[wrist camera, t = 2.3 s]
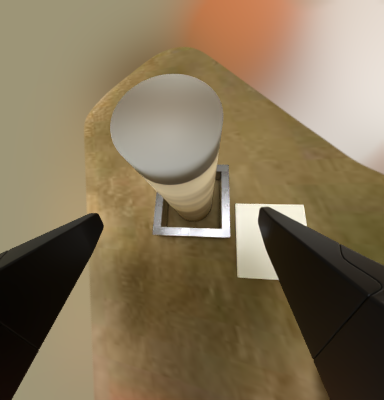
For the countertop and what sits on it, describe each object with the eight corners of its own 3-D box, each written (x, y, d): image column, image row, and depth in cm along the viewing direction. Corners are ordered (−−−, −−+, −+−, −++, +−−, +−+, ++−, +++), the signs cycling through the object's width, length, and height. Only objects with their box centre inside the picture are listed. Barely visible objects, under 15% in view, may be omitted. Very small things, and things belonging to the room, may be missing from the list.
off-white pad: (312, 281, 16) (314, 282, 16) (237, 276, 17) (237, 277, 17) (301, 205, 18) (303, 205, 18) (234, 204, 19) (235, 203, 19)
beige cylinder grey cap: (211, 222, 19) (224, 169, 5) (175, 220, 19) (100, 170, 6) (211, 187, 20) (222, 70, 6) (177, 186, 20) (119, 77, 7)
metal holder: (227, 238, 18) (230, 237, 16) (159, 235, 19) (152, 234, 16) (225, 173, 20) (228, 164, 18) (164, 173, 21) (159, 165, 18)
